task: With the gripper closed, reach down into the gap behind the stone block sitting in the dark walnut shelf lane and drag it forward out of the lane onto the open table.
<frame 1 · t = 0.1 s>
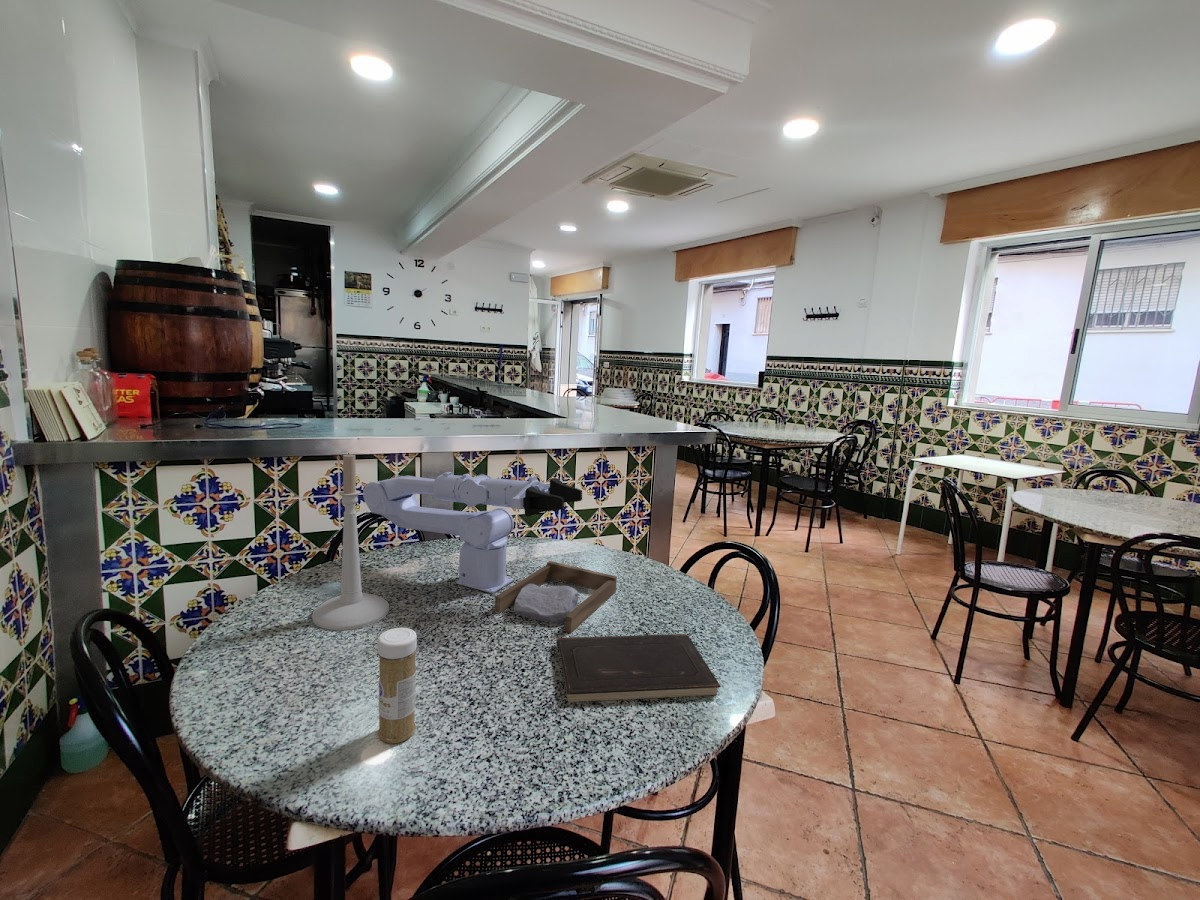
hand: (572, 499, 105), 22 cm above the table, tool horizontal, fingers open, 7 cm apart
hardcover book: (632, 673, 87), on the table
sprinkles bottle: (397, 734, 69), on the table
shelf lane: (557, 601, 109), on the table
candlestick: (351, 614, 100), on the table
stone block: (545, 613, 105), on the table
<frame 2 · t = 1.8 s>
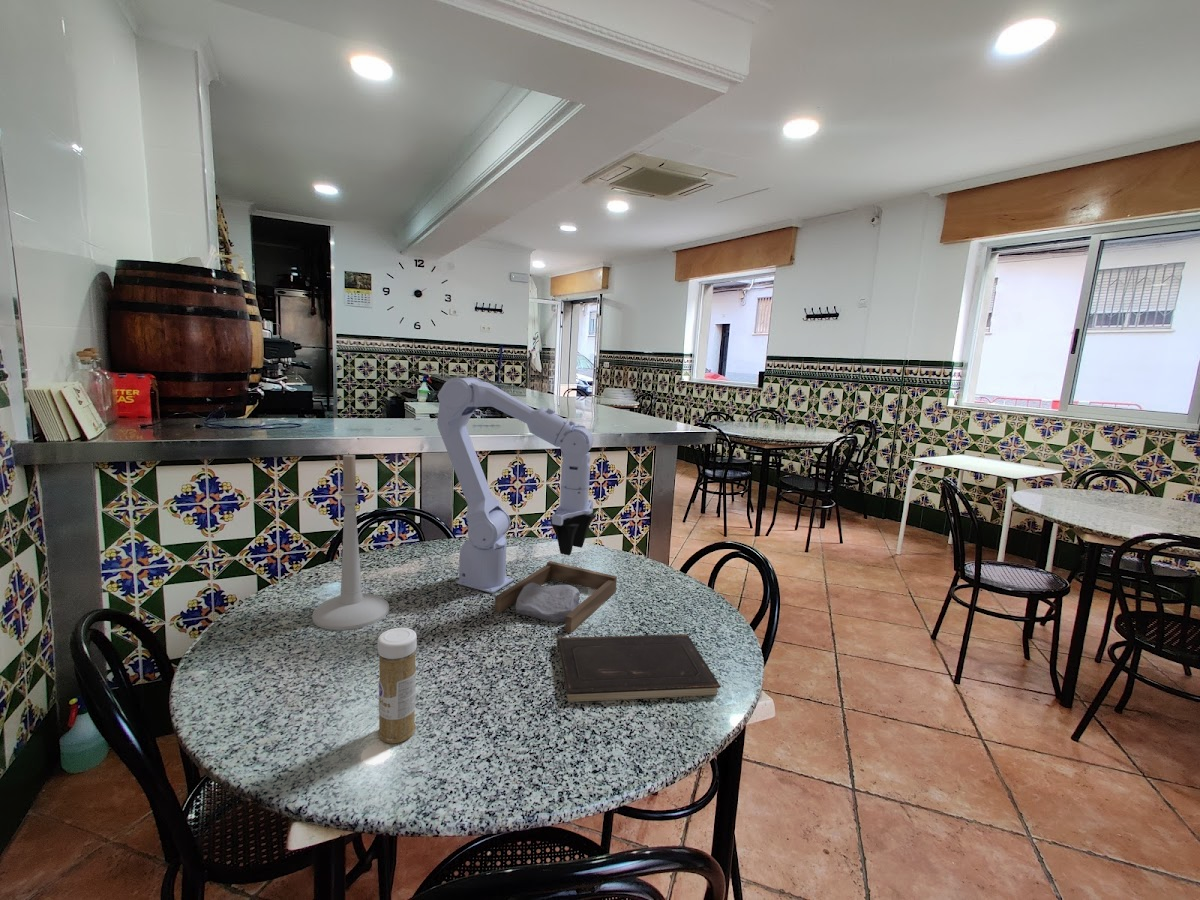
hand: (571, 550, 112), 9 cm above the table, tool pointing down, fingers open, 5 cm apart
nothing on the table moved.
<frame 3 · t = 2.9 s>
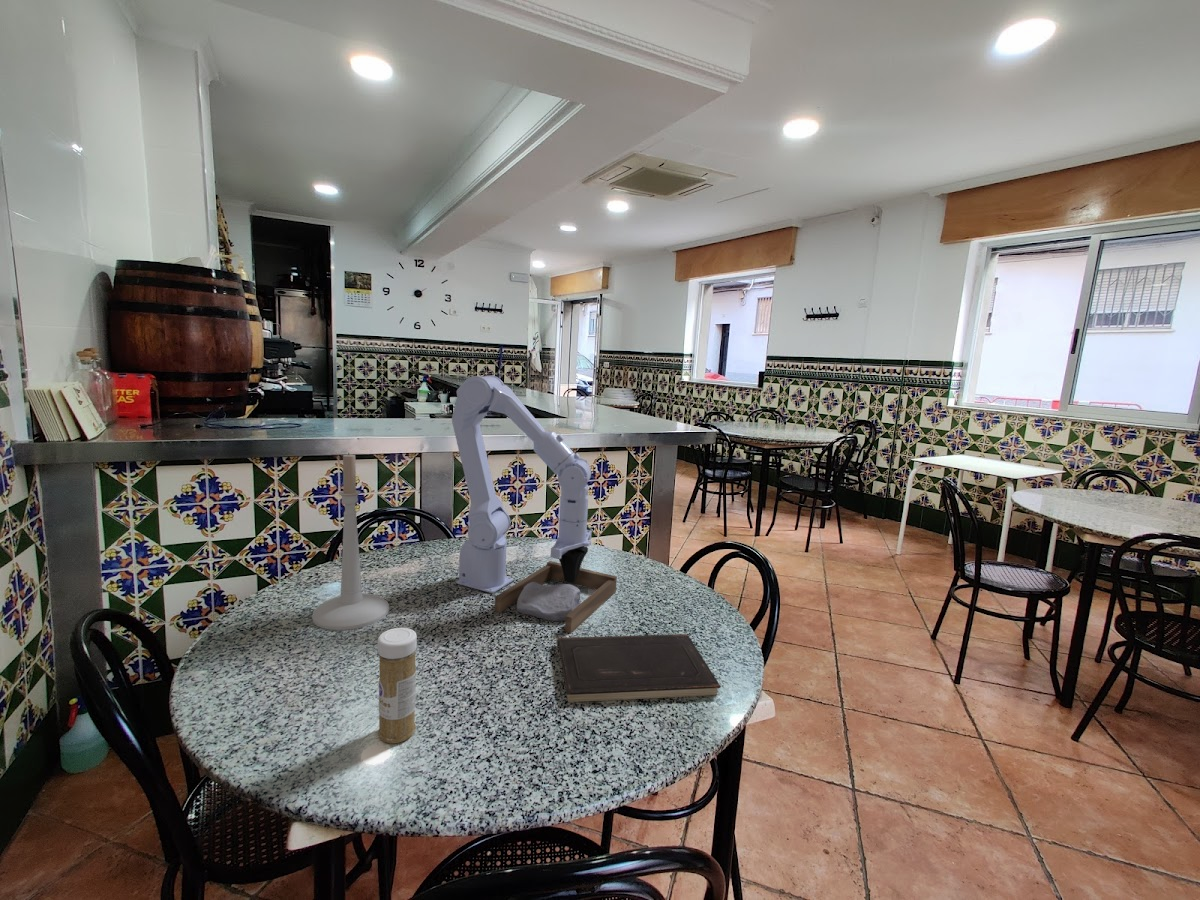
hand: (570, 581, 113), 3 cm above the table, tool pointing down, fingers closed
nothing on the table moved.
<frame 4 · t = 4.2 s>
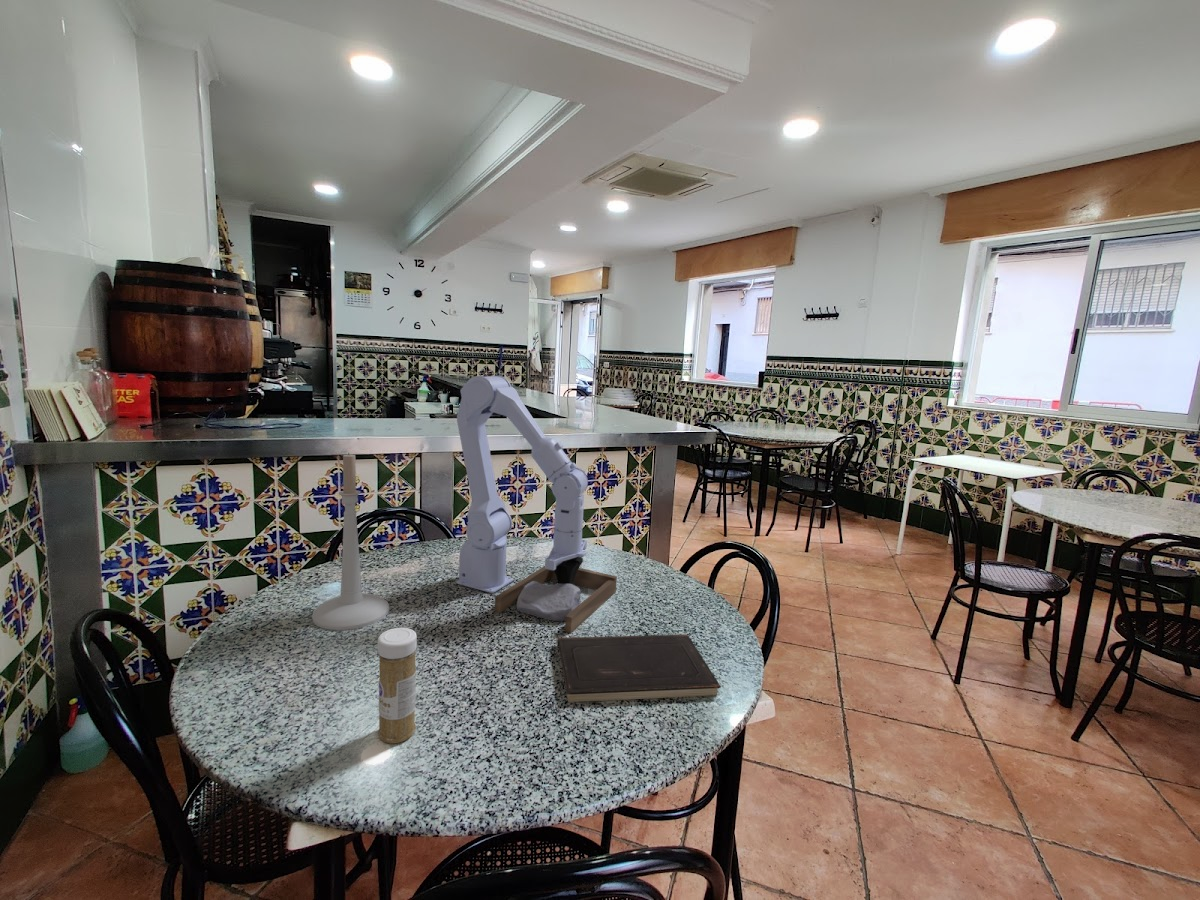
hand: (565, 591, 112), 1 cm above the table, tool pointing down, fingers closed
stone block: (547, 611, 106), on the table, touching gripper
everything else where it was.
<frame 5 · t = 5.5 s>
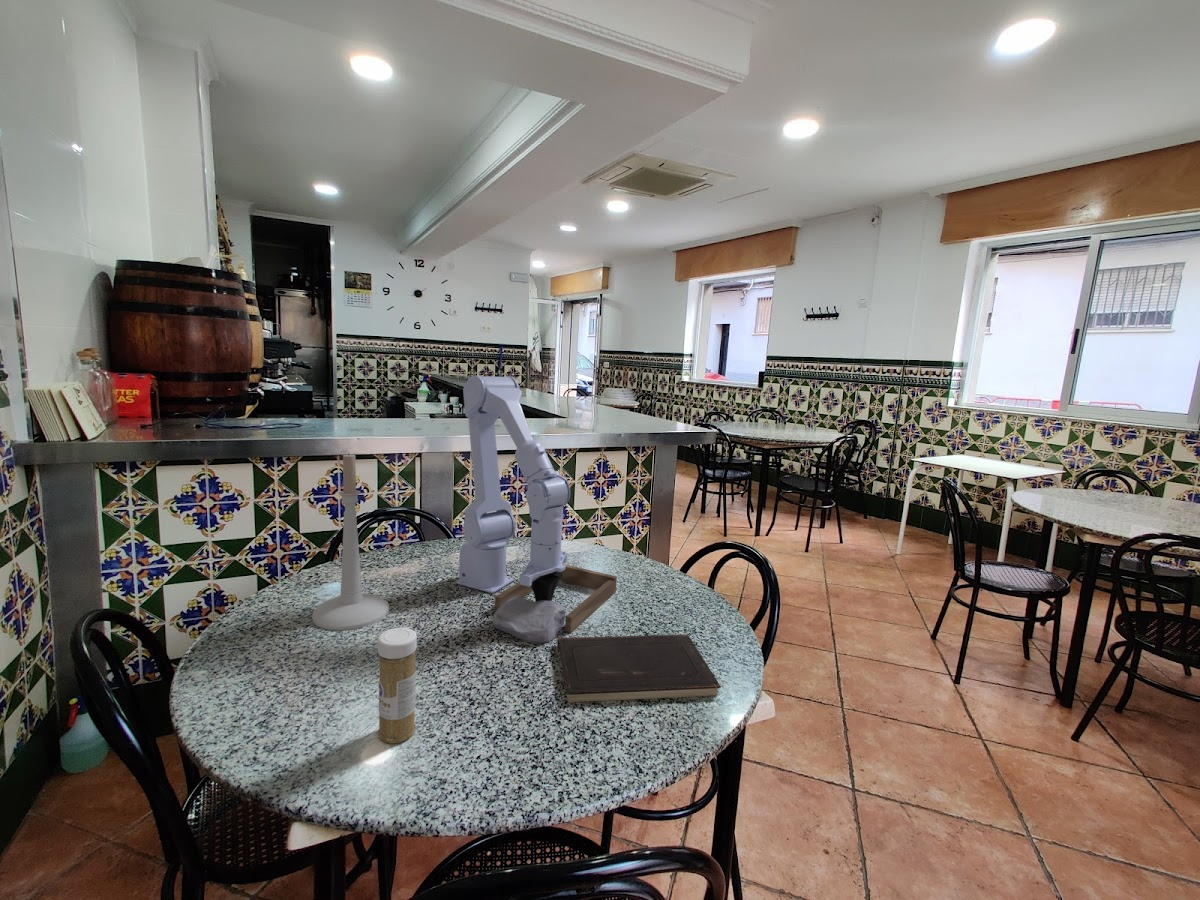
hand: (543, 608, 104), 1 cm above the table, tool pointing down, fingers closed
stone block: (527, 629, 98), on the table, touching gripper
everything else where it was.
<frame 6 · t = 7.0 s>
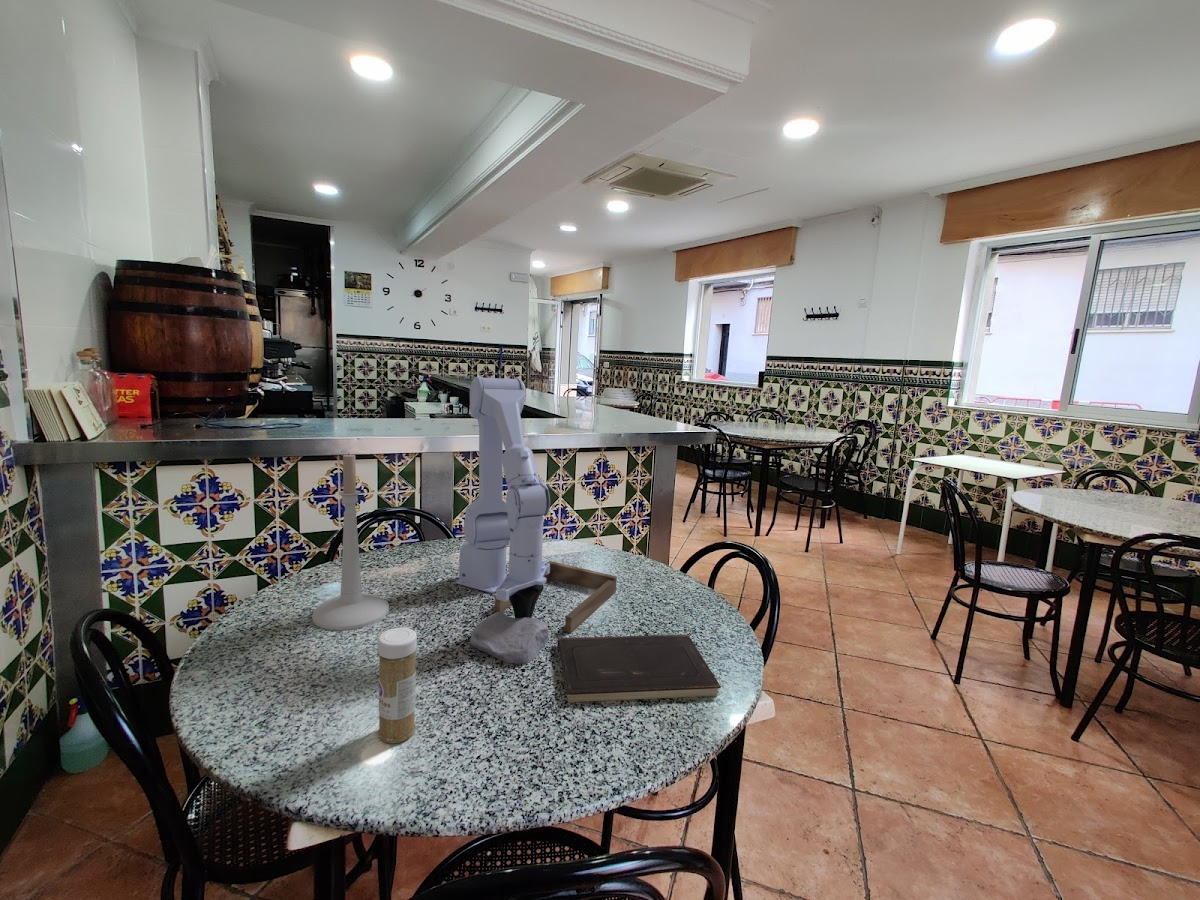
hand: (523, 623, 97), 1 cm above the table, tool pointing down, fingers closed
stone block: (507, 649, 92), on the table
everything else where it was.
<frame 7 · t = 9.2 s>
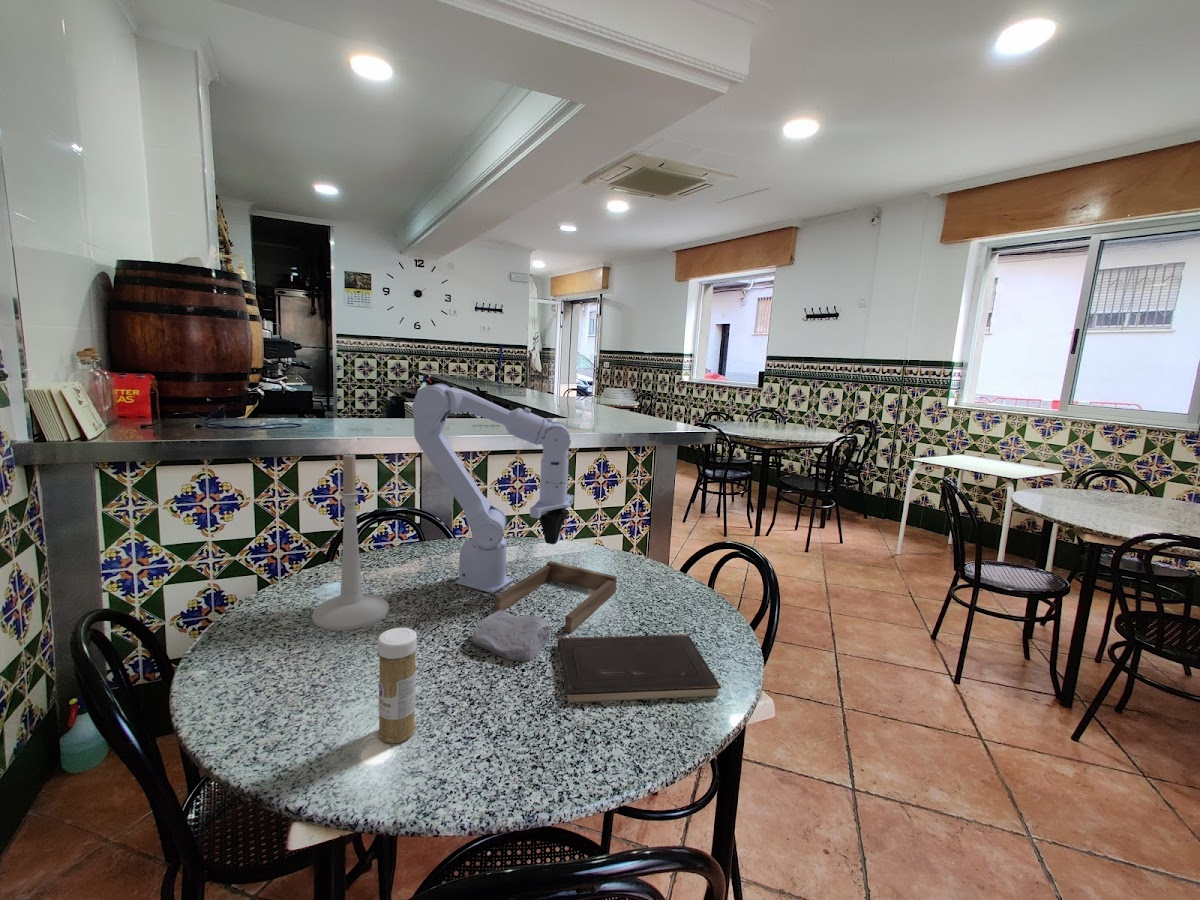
hand: (551, 542, 116), 9 cm above the table, tool pointing down, fingers closed
nothing on the table moved.
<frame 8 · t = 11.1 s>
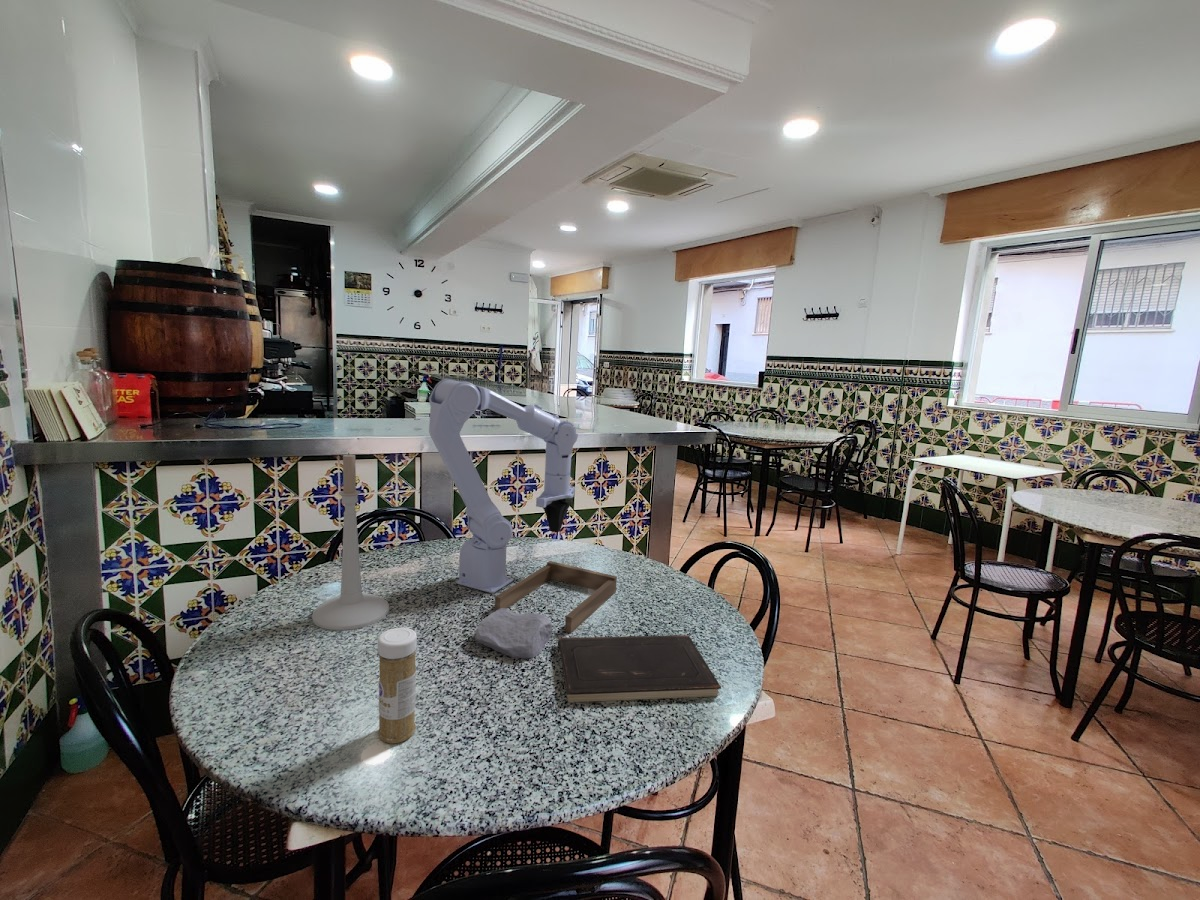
hand: (554, 531, 124), 9 cm above the table, tool pointing down, fingers closed
at the end: stone block inside the target area (2.7 cm from its centre), on the table; stone block moved 12.7 cm from its start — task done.
